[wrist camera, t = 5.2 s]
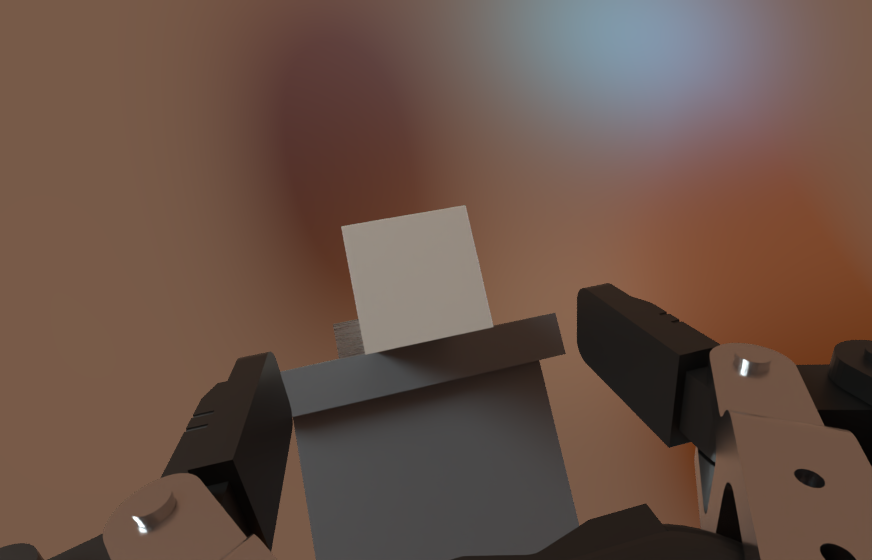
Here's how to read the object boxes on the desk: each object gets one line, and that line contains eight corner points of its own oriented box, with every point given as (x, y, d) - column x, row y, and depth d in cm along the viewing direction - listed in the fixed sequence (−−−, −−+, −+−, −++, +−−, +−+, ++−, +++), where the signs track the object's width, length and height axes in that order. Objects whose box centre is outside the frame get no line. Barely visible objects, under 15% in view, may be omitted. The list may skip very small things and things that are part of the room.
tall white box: (365, 354, 11) (340, 226, 12) (380, 350, 33) (371, 304, 33) (493, 326, 12) (465, 205, 12) (425, 340, 33) (416, 296, 34)
